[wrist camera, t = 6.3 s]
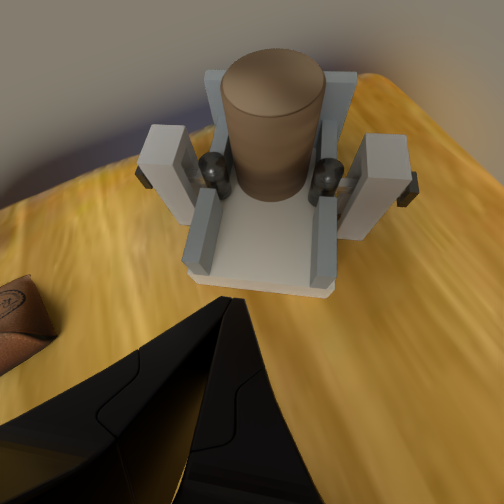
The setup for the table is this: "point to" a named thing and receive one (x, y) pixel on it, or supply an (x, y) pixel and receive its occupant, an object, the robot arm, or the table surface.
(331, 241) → the channel
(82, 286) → the table surface
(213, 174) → the plunger
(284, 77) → the peg
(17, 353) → the sunglasses case
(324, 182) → the plunger
